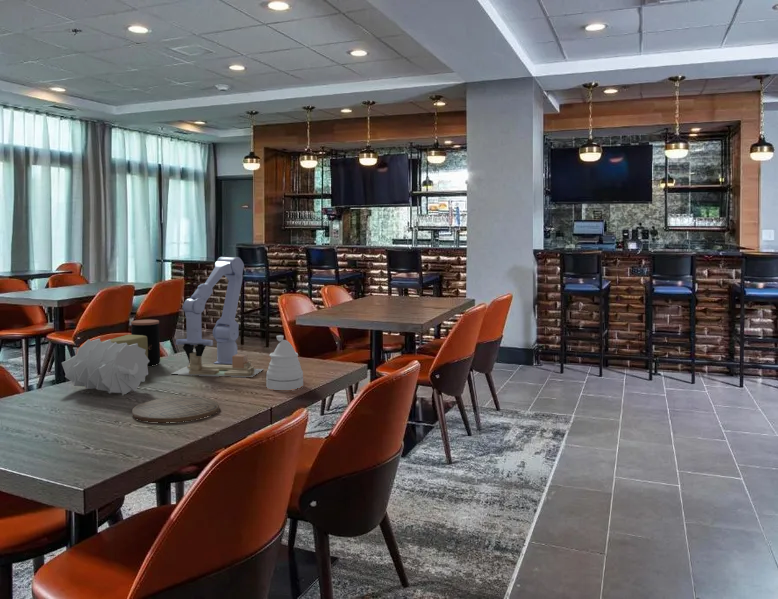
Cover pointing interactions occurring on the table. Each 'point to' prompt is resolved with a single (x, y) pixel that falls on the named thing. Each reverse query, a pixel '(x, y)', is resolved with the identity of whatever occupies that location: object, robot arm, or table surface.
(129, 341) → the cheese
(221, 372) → the mat
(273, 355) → the honey pot
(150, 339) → the coffee jar
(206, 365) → the beige wooden beam
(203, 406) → the trivet
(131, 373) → the white spiky cylinder
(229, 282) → the robot arm
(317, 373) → the table surface
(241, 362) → the cube
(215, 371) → the broken strip
